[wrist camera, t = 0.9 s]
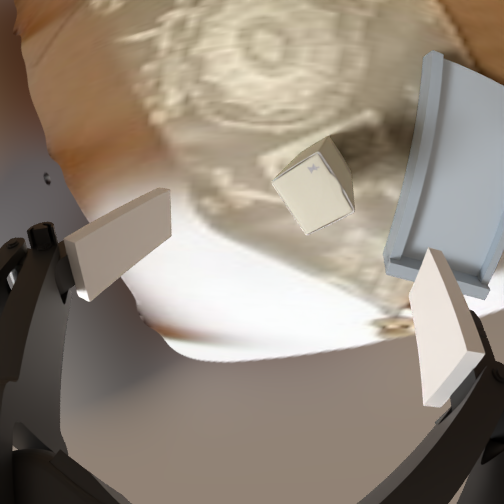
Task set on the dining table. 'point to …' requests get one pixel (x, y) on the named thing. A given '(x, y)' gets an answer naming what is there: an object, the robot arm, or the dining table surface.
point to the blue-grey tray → (453, 179)
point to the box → (317, 186)
